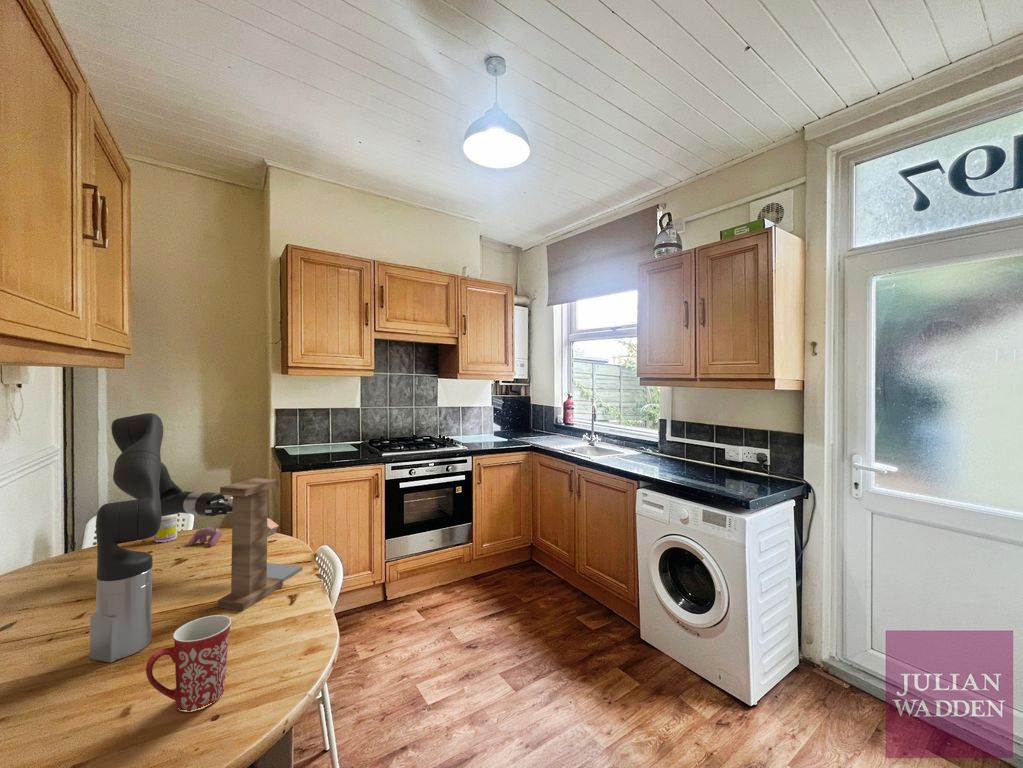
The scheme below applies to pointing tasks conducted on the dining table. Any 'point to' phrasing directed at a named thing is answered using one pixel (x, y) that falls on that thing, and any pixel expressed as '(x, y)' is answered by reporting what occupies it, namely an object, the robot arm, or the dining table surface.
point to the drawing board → (282, 571)
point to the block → (270, 524)
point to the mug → (196, 662)
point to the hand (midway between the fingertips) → (248, 507)
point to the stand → (249, 544)
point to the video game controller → (203, 534)
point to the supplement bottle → (167, 529)
